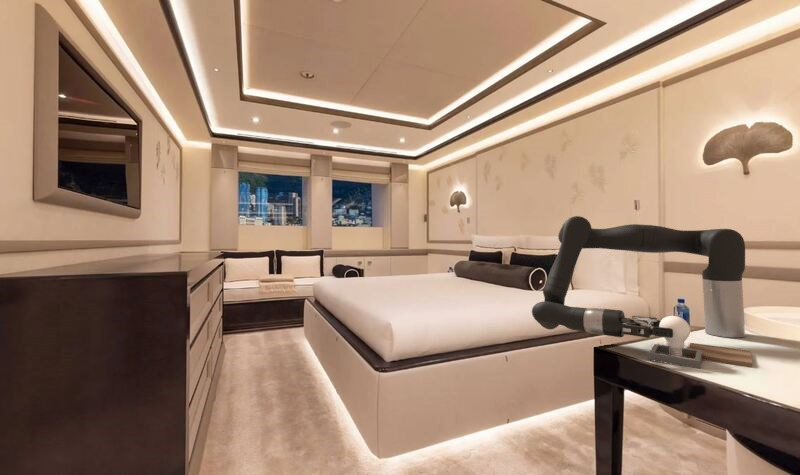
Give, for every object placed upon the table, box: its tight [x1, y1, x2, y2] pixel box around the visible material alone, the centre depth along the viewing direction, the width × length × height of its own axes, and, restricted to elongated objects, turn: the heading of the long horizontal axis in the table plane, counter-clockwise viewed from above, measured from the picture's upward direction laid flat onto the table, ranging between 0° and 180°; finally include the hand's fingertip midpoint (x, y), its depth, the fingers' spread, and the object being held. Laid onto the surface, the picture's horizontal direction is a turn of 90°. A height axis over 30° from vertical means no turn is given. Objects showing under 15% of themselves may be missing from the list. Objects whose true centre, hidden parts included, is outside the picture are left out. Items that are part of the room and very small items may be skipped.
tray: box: [648, 343, 703, 369], centre depth 90 cm, size 10×10×2 cm
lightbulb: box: [659, 315, 691, 357], centre depth 90 cm, size 6×6×11 cm
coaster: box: [686, 342, 753, 368], centre depth 91 cm, size 12×12×1 cm
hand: (674, 329), depth 90 cm, fingers open, 8 cm apart
